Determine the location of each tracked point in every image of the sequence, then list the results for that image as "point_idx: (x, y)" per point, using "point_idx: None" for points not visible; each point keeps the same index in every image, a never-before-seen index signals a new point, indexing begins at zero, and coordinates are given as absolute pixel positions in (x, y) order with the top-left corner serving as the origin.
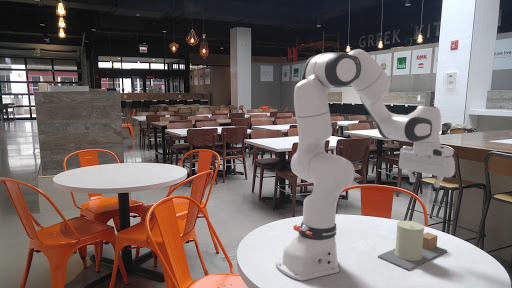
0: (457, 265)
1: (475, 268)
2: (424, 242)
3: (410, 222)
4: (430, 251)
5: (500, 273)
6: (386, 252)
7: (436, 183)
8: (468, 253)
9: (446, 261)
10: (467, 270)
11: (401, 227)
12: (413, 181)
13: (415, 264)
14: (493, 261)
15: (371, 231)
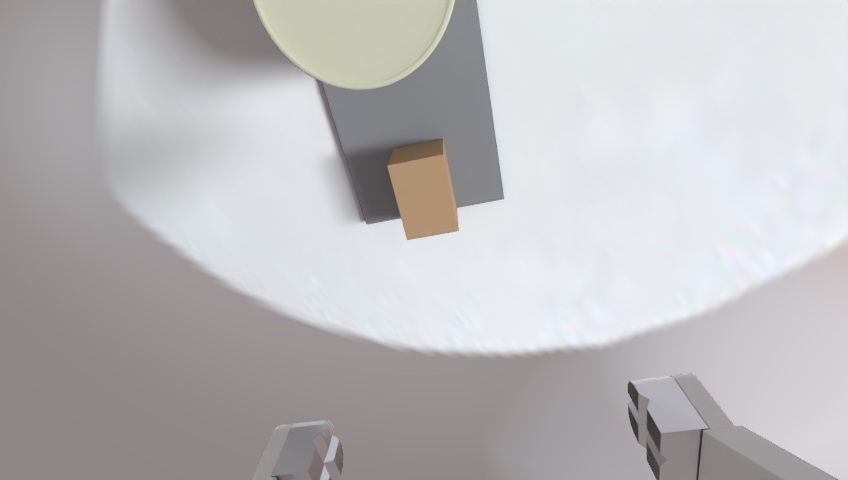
0: (252, 148)
1: (217, 191)
2: (413, 153)
3: (400, 36)
4: (380, 145)
5: (171, 236)
6: None
7: (271, 466)
8: (330, 279)
9: (293, 138)
10: (207, 147)
11: None
12: (633, 393)
13: None
14: (254, 296)
15: (725, 66)
